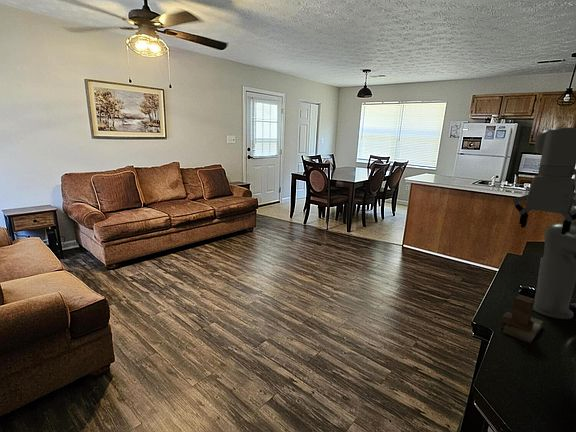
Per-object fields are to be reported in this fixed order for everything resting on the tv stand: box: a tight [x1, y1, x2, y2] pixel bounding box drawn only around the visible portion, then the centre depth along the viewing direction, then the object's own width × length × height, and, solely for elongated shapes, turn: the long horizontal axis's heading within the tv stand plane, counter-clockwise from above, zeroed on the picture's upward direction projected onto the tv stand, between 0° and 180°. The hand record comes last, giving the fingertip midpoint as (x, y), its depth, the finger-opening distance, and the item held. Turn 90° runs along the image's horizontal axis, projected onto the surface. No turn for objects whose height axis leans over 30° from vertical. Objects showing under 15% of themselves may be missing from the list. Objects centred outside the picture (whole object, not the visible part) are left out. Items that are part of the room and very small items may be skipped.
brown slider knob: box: [500, 293, 535, 332], centre depth 97 cm, size 4×7×11 cm, turn 40°
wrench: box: [536, 256, 544, 285], centre depth 137 cm, size 8×2×30 cm
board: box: [502, 316, 544, 344], centre depth 100 cm, size 14×7×2 cm, turn 130°
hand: (542, 230), depth 94 cm, fingers open, 9 cm apart
